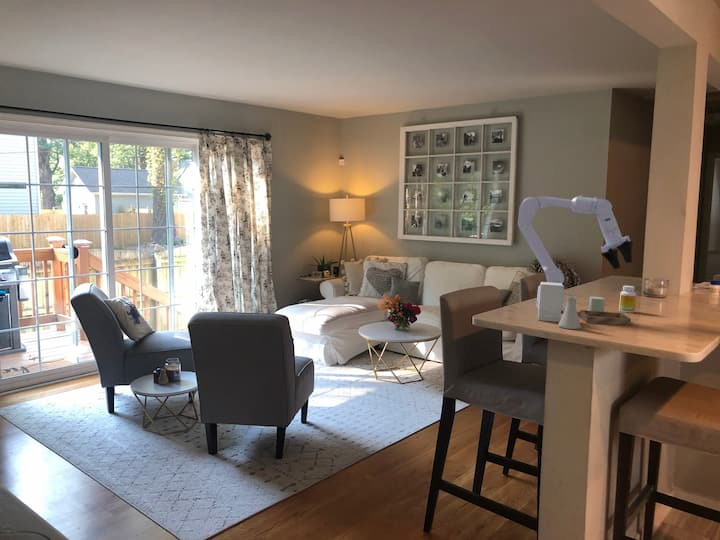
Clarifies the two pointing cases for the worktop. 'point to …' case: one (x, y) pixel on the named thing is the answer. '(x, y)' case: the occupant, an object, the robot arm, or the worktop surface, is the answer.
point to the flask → (570, 315)
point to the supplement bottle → (627, 299)
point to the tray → (605, 317)
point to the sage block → (596, 304)
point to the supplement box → (550, 301)
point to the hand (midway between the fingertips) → (623, 265)
